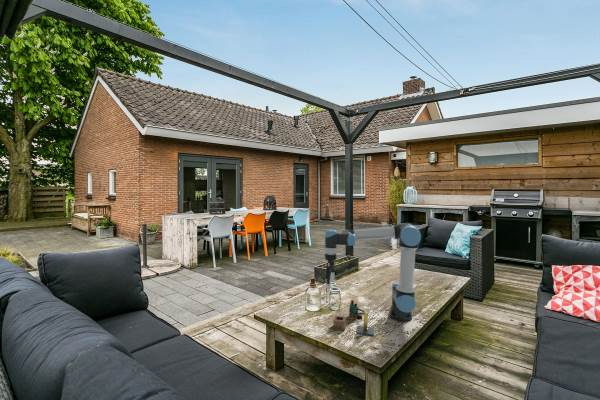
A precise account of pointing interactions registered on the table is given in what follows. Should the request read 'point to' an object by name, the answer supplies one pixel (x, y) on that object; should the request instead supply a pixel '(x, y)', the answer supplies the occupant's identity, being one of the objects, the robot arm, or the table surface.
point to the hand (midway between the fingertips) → (330, 285)
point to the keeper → (365, 327)
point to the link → (339, 323)
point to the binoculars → (355, 311)
